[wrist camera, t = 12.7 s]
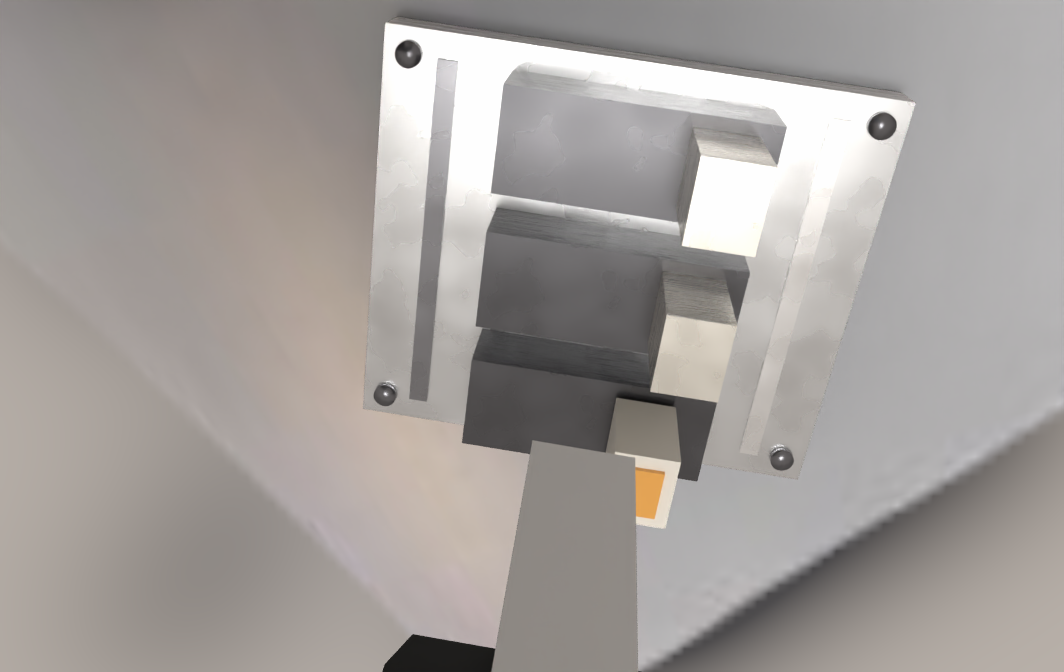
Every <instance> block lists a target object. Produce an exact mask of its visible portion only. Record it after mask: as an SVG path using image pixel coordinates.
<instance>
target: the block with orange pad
mask: <svg viewBox="0 0 1064 672" xmlns="http://www.w3.org/2000/svg"><path fill="white" fill-rule="evenodd" d="M606 453H610V454H616V455H622V456H628V457H634V458H635V481H636V524H638V525H644V526H650V527H656V528H662V529H665V527H666V523H667V519H668V515H669V511H670V506H671V502H672V498H673V494H674V490H675V486H676V482H677V478H678V473H679V469H680V465H681V456H680V445H679V435H678V424H677V414H676V407H671V406H665V405H658V404H652V403H646V402H640V401H634V400H627V399H621V398H616V403H615V408H614V413H613V418H612V423H611V428H610V433H609V438H608V443H607V448H606Z"/></svg>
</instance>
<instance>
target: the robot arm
mask: <svg viewBox="0 0 1064 672" xmlns="http://www.w3.org/2000/svg"><path fill="white" fill-rule="evenodd" d="M383 672H640V671H638V639H637V560H636V481H635V458H634V457H628V456H622V455H616V454H610V453H605V452H599V451H593V450H587V449H581V448H575V447H569V446H563V445H557V444H552V443H546V442H540V441H534V440H532V446H531V452H530V457H529V463H528V469H527V474H526V480H525V485H524V491H523V497H522V502H521V508H520V514H519V519H518V525H517V530H516V536H515V542H514V547H513V553H512V559H511V564H510V570H509V575H508V581H507V587H506V592H505V598H504V604H503V609H502V615H501V621H500V626H499V632H498V637H497V643H496V649H494V648H488V647H482V646H477V645H471V644H465V643H460V642H454V641H448V640H443V639H437V638H431V637H425V636H420V635H414V634H413V635H412V636H411V637H410V638H409V639H408V640H407V641H406V642H405V643H404V644H403V645H402V646H401V648H400V649H399V650H398V651H397V652H396V653H395V654H394V655H393V656H392V657H391V658H390V659H389V660H388V661H387V663H386V664H385V665H384V668H383Z"/></svg>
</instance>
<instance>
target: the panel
mask: <svg viewBox="0 0 1064 672" xmlns="http://www.w3.org/2000/svg"><path fill="white" fill-rule="evenodd" d="M915 104H916V102H914V101H913V100H911V99H910V98H908V97H907V96H906V95H904V94H903V93H901V92H895V91H888V90H881V89H875V88H868V87H861V86H855V85H848V84H841V83H835V82H828V81H821V80H815V79H808V78H802V77H795V76H788V75H782V74H775V73H768V72H762V71H755V70H748V69H742V68H735V67H728V66H722V65H715V64H708V63H702V62H695V61H688V60H682V59H675V58H668V57H662V56H655V55H649V54H642V53H635V52H629V51H622V50H615V49H609V48H602V47H595V46H589V45H582V44H575V43H569V42H562V41H555V40H549V39H542V38H535V37H529V36H522V35H516V34H509V33H502V32H496V31H489V30H482V29H476V28H469V27H462V26H456V25H449V24H442V23H436V22H429V21H422V20H416V19H409V18H402V17H396V18H394V19H392V20H390V21H388V22H386V23H385V34H384V52H383V70H382V87H381V105H380V122H379V140H378V158H377V175H376V193H375V210H374V228H373V246H372V263H371V281H370V298H369V316H368V334H367V351H366V369H365V386H364V404H363V409H368V410H374V411H381V412H387V413H393V414H399V415H405V416H411V417H417V418H423V419H430V420H436V421H442V422H448V423H454V424H460V425H464V431H463V439H462V443H466V444H472V445H478V446H484V447H490V448H496V449H502V450H509V451H515V452H521V453H527V454H530V452H531V446H532V440H534V441H540V442H546V443H552V444H557V445H563V446H569V447H575V448H581V449H587V450H593V451H599V452H605V453H606V448H607V443H608V438H609V433H610V428H611V423H612V418H613V413H614V408H615V403H616V398H621V399H627V400H634V401H640V402H646V403H652V404H658V405H665V406H671V407H676V414H677V424H678V435H679V445H680V456H681V465H680V469H679V473H678V478H680V479H686V480H692V481H697V480H698V476H699V472H700V468H701V464H706V465H712V466H718V467H724V468H730V469H736V470H742V471H748V472H755V473H761V474H767V475H773V476H779V477H785V478H791V479H797V480H798V477H799V474H800V471H801V468H802V464H803V461H804V458H805V455H806V452H807V448H808V445H809V442H810V439H811V436H812V432H813V429H814V426H815V423H816V420H817V417H818V413H819V410H820V407H821V404H822V401H823V397H824V394H825V391H826V388H827V385H828V381H829V378H830V375H831V372H832V369H833V365H834V362H835V359H836V356H837V353H838V349H839V346H840V343H841V340H842V337H843V333H844V330H845V327H846V324H847V321H848V318H849V314H850V311H851V308H852V305H853V302H854V298H855V295H856V292H857V289H858V286H859V282H860V279H861V276H862V273H863V270H864V266H865V263H866V260H867V257H868V254H869V250H870V247H871V244H872V241H873V238H874V234H875V231H876V228H877V225H878V222H879V219H880V215H881V212H882V209H883V206H884V203H885V199H886V196H887V193H888V190H889V187H890V183H891V180H892V177H893V174H894V171H895V167H896V164H897V161H898V158H899V155H900V151H901V148H902V145H903V142H904V139H905V135H906V132H907V129H908V126H909V123H910V120H911V116H912V113H913V110H914V107H915Z"/></svg>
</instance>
